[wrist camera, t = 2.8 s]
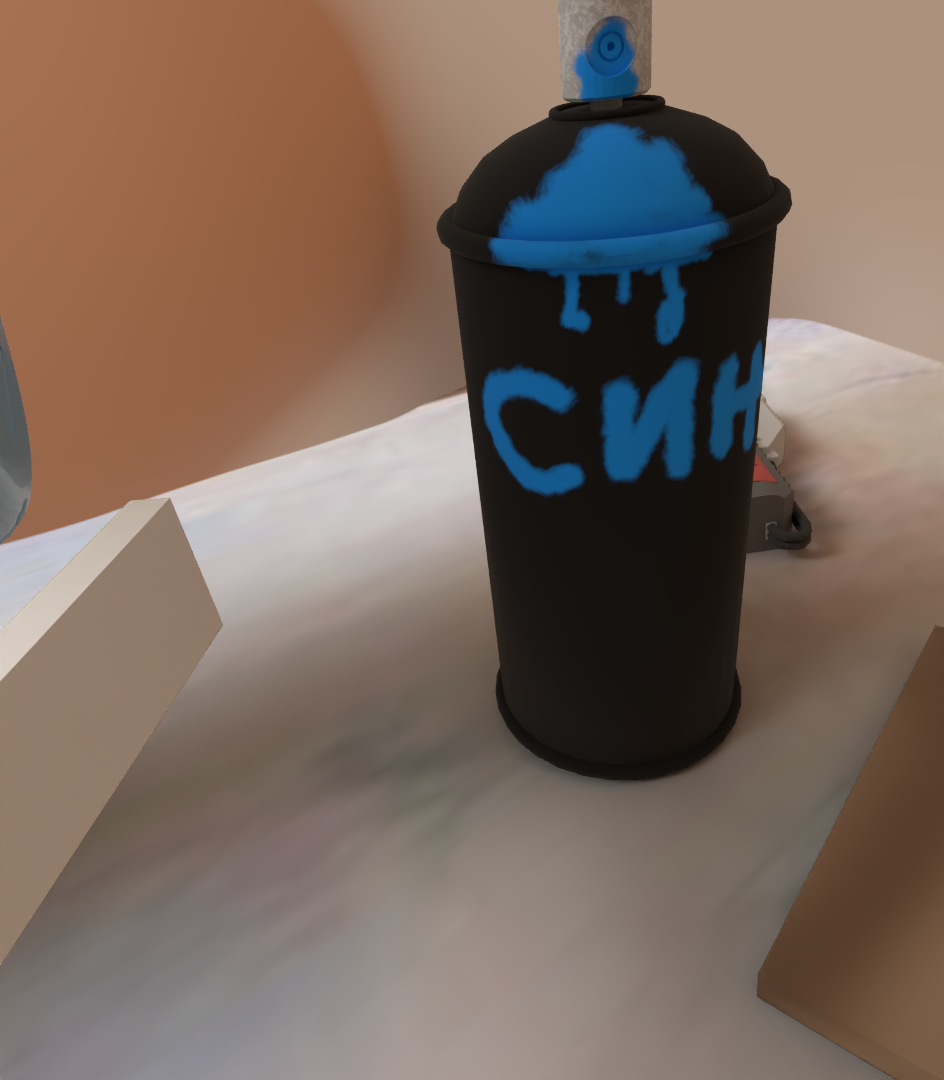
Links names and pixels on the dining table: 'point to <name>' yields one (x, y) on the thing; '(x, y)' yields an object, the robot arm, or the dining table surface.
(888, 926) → the board
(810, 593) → the dining table surface
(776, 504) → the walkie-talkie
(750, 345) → the aerosol can
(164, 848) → the dining table surface
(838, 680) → the dining table surface
